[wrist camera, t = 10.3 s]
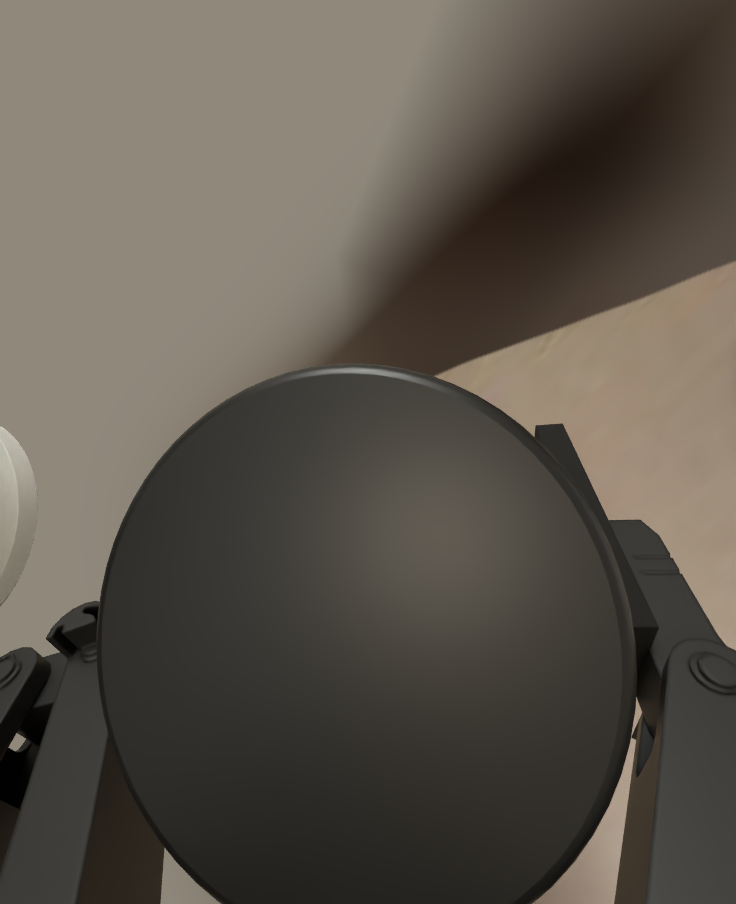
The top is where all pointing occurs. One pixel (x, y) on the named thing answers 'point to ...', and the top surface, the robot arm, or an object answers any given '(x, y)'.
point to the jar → (366, 648)
